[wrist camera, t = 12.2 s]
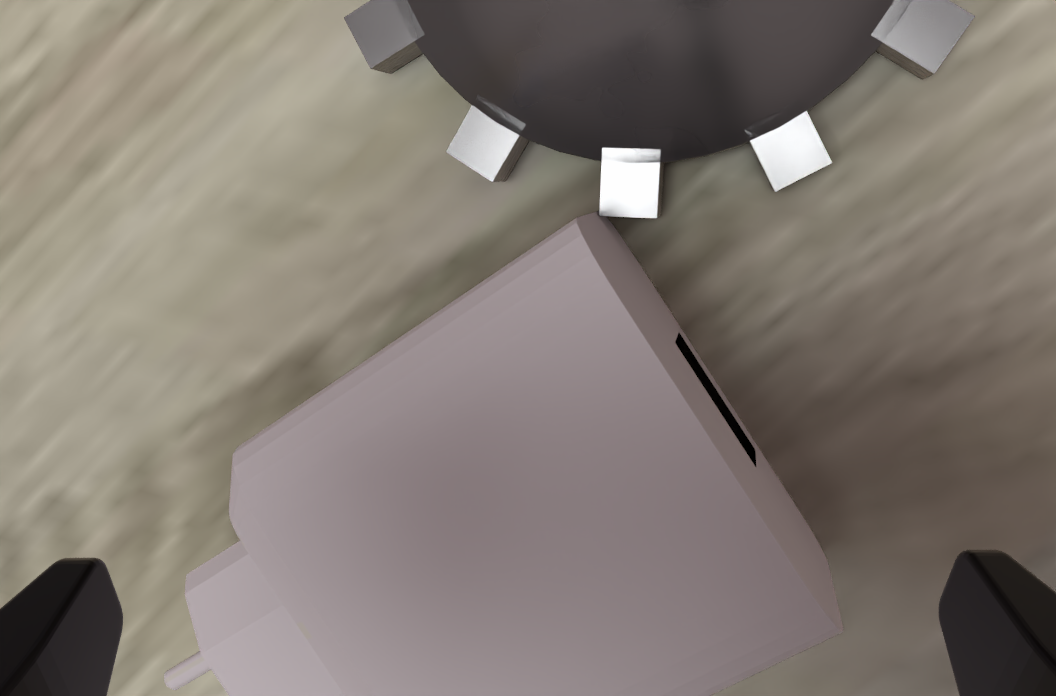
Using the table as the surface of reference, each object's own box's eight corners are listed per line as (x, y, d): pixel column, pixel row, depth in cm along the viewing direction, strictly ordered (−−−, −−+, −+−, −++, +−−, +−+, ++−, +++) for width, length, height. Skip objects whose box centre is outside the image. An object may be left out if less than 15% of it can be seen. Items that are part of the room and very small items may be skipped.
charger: (143, 519, 25) (607, 207, 21) (334, 799, 26) (827, 547, 21) (13, 596, 21) (571, 218, 16) (246, 935, 21) (851, 650, 17)
